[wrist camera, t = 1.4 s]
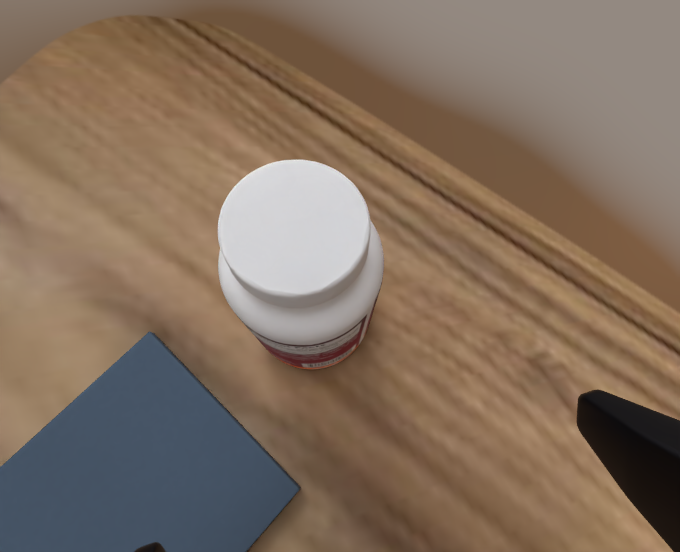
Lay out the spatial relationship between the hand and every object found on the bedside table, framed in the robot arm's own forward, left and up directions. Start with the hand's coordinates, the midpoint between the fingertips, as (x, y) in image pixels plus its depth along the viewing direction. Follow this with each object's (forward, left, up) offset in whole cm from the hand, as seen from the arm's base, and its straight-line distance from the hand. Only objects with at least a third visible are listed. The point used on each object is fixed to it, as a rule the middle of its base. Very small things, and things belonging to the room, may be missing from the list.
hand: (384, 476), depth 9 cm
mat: (+6, +9, -13) cm, 17 cm away
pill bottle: (+6, -3, -13) cm, 15 cm away
